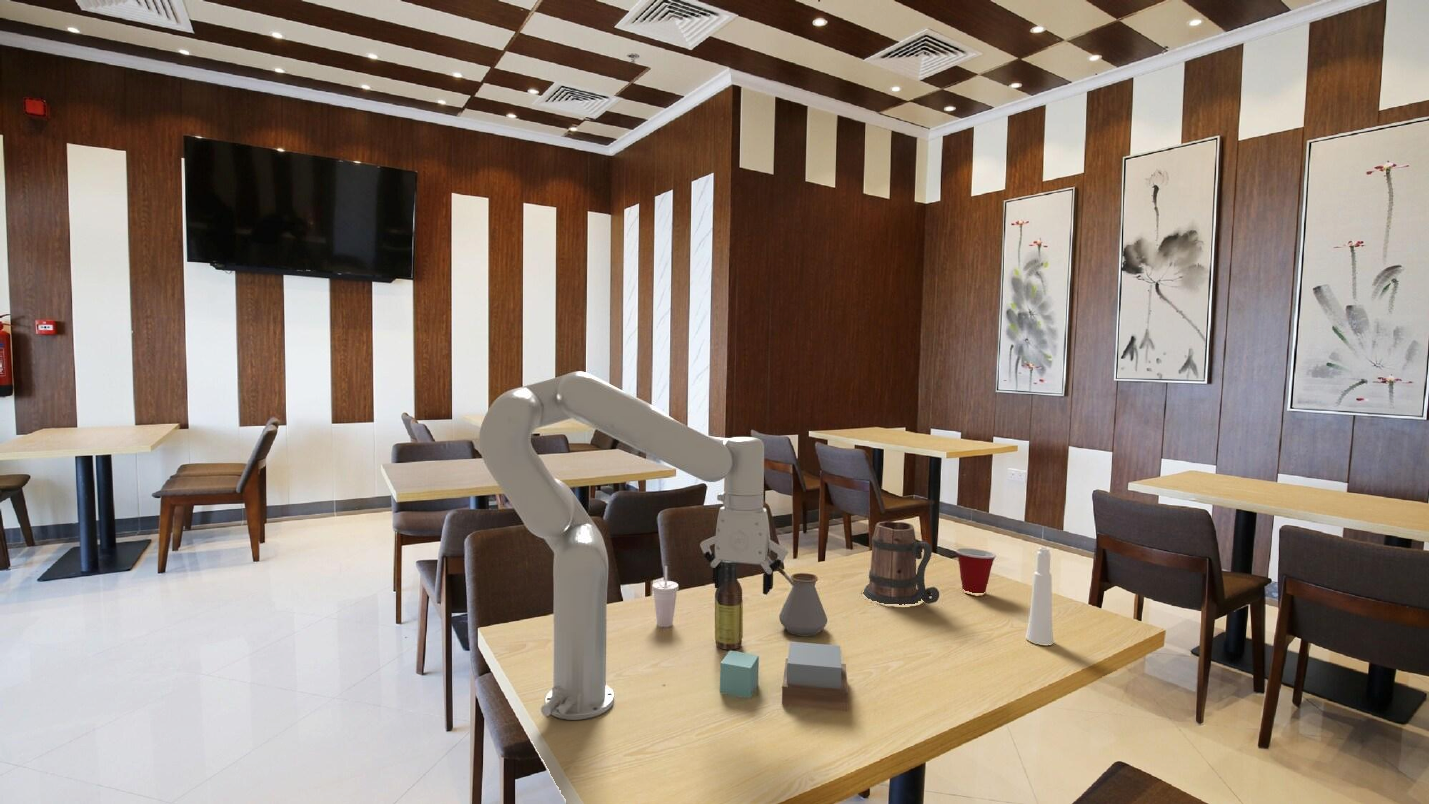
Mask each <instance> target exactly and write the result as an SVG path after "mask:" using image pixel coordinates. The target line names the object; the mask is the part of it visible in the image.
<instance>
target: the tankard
mask: <svg viewBox="0 0 1429 804" xmlns="http://www.w3.org/2000/svg"><path fill="white" fill-rule="evenodd" d="M871 545H872V548H871V559H870V569H869V571H868V573H869V574H868V579H869V582H868V584H867V585H866V586H865V587H864V589H863V590H864V592H863V594H864V595H865V596H866V597H867V598H868V599H871V600H872V601H877V602H879V603H884V604H899V605H902V604H904V605H905V604H915V603H918V601H921V599H922V600H923V601H924V602H923V603H924V604H928V605H930V604H933V603H936V602H938V600H939V599H940V591H939V589H938V588H937V587H936V586H931V587H927V588H926V584H925V573H926V568H927V567H928V566H927V565H928V564H929V562H930V560H931V558H932V553H933V550H932V546H931V545H930V543H928V541H918V540H917V539H916V533H915V527H914V525H912V524H911V523H908V522H903V521H902V522H901V521H898V522H897V521H879V522H877V523H876V524H875V528H874V532H873V535H872V537H871ZM922 553H923V554H922ZM917 560H920V563H919V565H918V567H917Z"/></svg>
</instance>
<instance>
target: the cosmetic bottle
mask: <svg viewBox="0 0 1429 804" xmlns="http://www.w3.org/2000/svg"><path fill="white" fill-rule="evenodd" d="M1035 568H1036V571H1034V573H1033V580H1032V590H1031V600H1030V609H1029V618H1028V622H1027V623H1028V625H1027V628H1026V634H1025V637H1026V638H1027V639H1028V640H1030V641H1032V642H1034V643H1038V644H1053V643H1054V644H1055V641H1054V633H1053V619H1052V618H1053V616H1052V615H1053V612H1052V611H1053V607H1052V606H1053V603H1052V598H1053V594H1052V593H1053V591H1052V590H1053V589H1052V588H1053V587H1052V586H1053V585H1052V584H1053V583H1052V577H1053V576H1052V573H1050V570H1051V553H1050V548H1048V547H1044V546H1041V547H1038V551H1037V552H1036V567H1035ZM1054 644H1053V645H1054Z"/></svg>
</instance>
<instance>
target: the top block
mask: <svg viewBox="0 0 1429 804" xmlns="http://www.w3.org/2000/svg"><path fill="white" fill-rule="evenodd" d="M841 651H842V649H841V645H836V644H835V645H834V644H823V643H821V644H820V643H810V642H803V641H802V642H801V641H800V642H799V641H789V646H788V653H787V654H788V655H787V659H788V661H787V684H792V685H803V686H813V687H824V688H834V689H841V669H842V668H841V664H842V652H841Z"/></svg>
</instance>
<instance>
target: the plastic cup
mask: <svg viewBox="0 0 1429 804" xmlns="http://www.w3.org/2000/svg"><path fill="white" fill-rule="evenodd" d="M955 553H956V555H957V561H958V565H959V573H960V574H959V575H960V581H961V586H962V587H961V588H962V590H963V589H964V590H965V591H969V592H972V593H984V592H985V593H986V591H987V586H988V584H989V579H990V575H991V570H992V566H993V563H994V560H995V559H996V557H997V554H996V553H995V552H991V551H988V550H984V549H983V550H982V549H978V548H965V547H963V548H961V547H960V548H955Z"/></svg>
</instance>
